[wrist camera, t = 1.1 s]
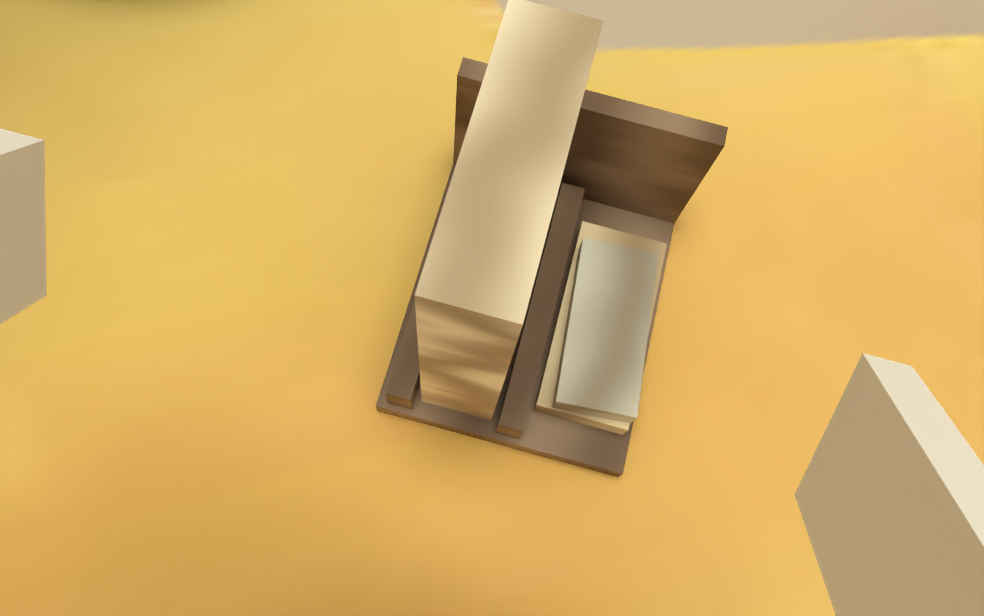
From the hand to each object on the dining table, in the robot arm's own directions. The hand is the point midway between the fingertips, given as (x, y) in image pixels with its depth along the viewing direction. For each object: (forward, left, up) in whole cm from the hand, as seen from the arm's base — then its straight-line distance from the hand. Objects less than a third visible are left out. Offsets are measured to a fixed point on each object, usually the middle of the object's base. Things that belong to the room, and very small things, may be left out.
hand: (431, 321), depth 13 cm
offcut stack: (-6, +10, -27) cm, 29 cm away
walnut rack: (-9, +8, -28) cm, 30 cm away
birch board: (-9, +5, -27) cm, 29 cm away
